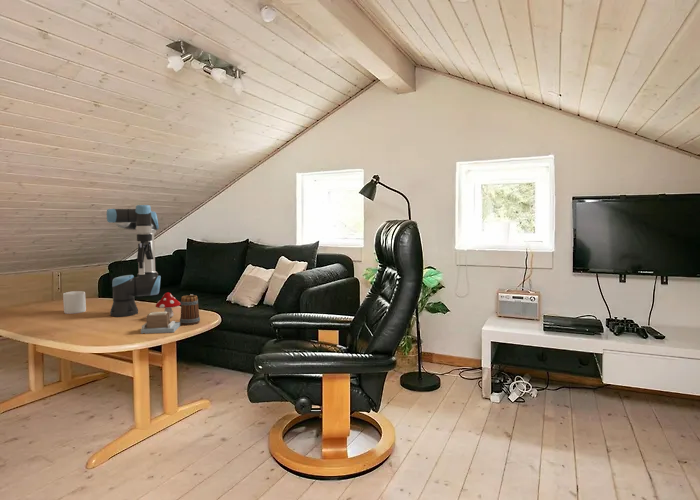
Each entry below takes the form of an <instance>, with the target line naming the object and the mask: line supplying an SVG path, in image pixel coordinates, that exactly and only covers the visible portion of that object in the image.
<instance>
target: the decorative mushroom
mask: <svg viewBox="0 0 700 500" xmlns="http://www.w3.org/2000/svg"><path fill="white" fill-rule="evenodd" d="M155 307H156V308H159V309H164V311H163V312H170V319H171V318H173V317H174V311H173V308H177V307H181V301H179V300H178V299H176V297H174V295H172V293H171V292H169V291H168V292H165V293H164V294H163V295H162V297H161V299H160V300H158V301H157V303H156V304H155Z"/></svg>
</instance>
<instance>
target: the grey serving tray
mask: <svg viewBox="0 0 700 500" xmlns="http://www.w3.org/2000/svg"><path fill="white" fill-rule="evenodd" d="M180 327H181V323H180V321H176V320H171V321H170V324H169V325H168V327H164V328H147V321H146V322H145V323H144V324H142V325H141V329H140V334H142V335H143V333H145V334H166V333H167V334H168V333H169V334H170V333H172V334H173V333H175V332H176V331H177V330H178V329H179V328H180Z"/></svg>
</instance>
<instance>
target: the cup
mask: <svg viewBox="0 0 700 500" xmlns="http://www.w3.org/2000/svg"><path fill="white" fill-rule="evenodd" d="M62 298H63V299H62V300H63V301H62V302H63V312H64V314H66V315H67V314H68V315H70V314H71V315H72V314H81V313H84V312H86V311H87V304H86V303H87V302H86V292H85V291H84V290H72V291H67V292H66V291H65V292H63V293H62Z"/></svg>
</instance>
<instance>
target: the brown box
mask: <svg viewBox="0 0 700 500" xmlns="http://www.w3.org/2000/svg"><path fill="white" fill-rule="evenodd" d="M145 317H146V320H145V321H146V322H147V328H164V327H168V325H169V324H170V322H171V318H170V312H164V311H153V312H152V311H151V312H150V313H148V314H147V315H146V316H145Z"/></svg>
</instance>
